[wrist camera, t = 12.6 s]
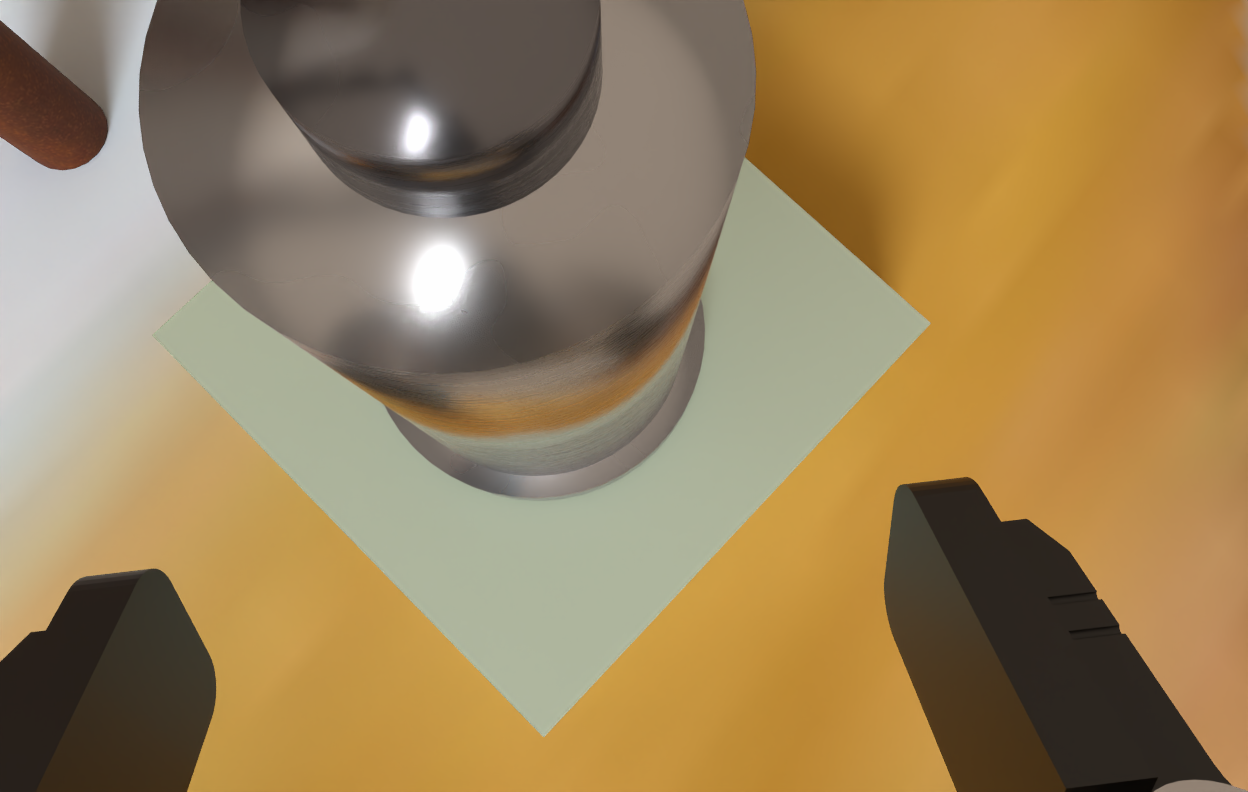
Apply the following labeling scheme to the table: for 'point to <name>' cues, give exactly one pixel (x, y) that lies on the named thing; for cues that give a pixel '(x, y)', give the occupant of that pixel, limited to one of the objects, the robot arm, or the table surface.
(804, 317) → the green plinth
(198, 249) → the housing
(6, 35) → the plant pot with stand
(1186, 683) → the table surface
